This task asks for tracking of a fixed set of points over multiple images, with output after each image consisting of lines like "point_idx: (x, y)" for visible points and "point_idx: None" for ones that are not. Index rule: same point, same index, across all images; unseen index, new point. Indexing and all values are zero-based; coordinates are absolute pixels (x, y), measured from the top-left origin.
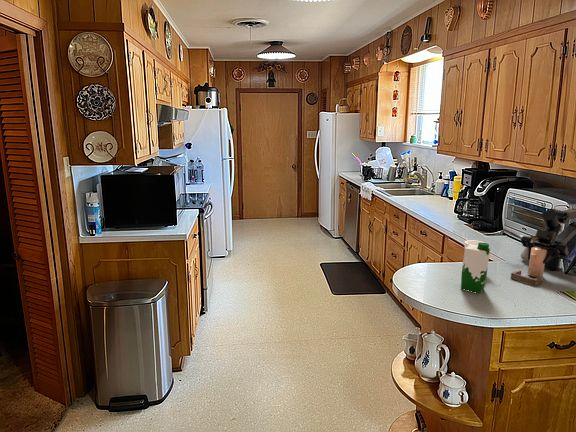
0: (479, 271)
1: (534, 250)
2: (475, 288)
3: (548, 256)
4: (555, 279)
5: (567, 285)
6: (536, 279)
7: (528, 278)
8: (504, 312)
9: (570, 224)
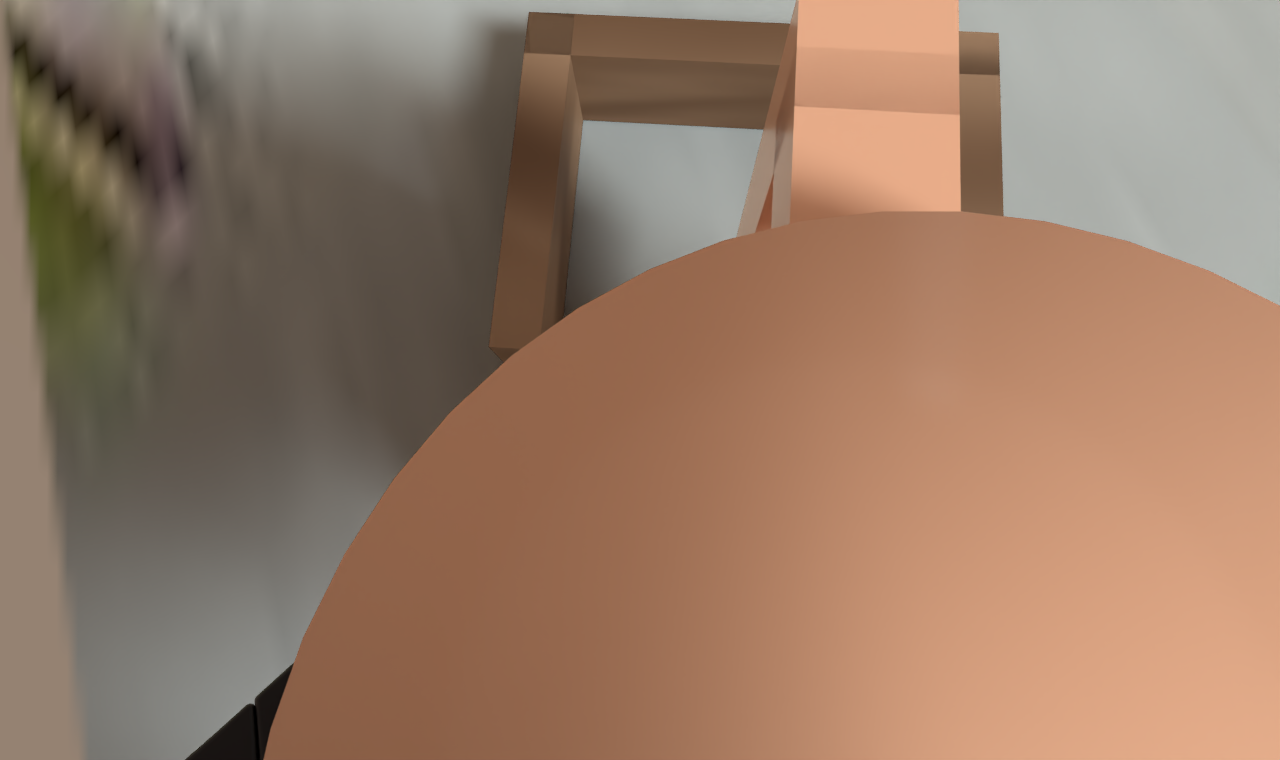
0: None
1: (1074, 266)
2: None
3: (273, 699)
4: None
5: (128, 567)
6: (524, 71)
7: (652, 21)
8: None
9: None
